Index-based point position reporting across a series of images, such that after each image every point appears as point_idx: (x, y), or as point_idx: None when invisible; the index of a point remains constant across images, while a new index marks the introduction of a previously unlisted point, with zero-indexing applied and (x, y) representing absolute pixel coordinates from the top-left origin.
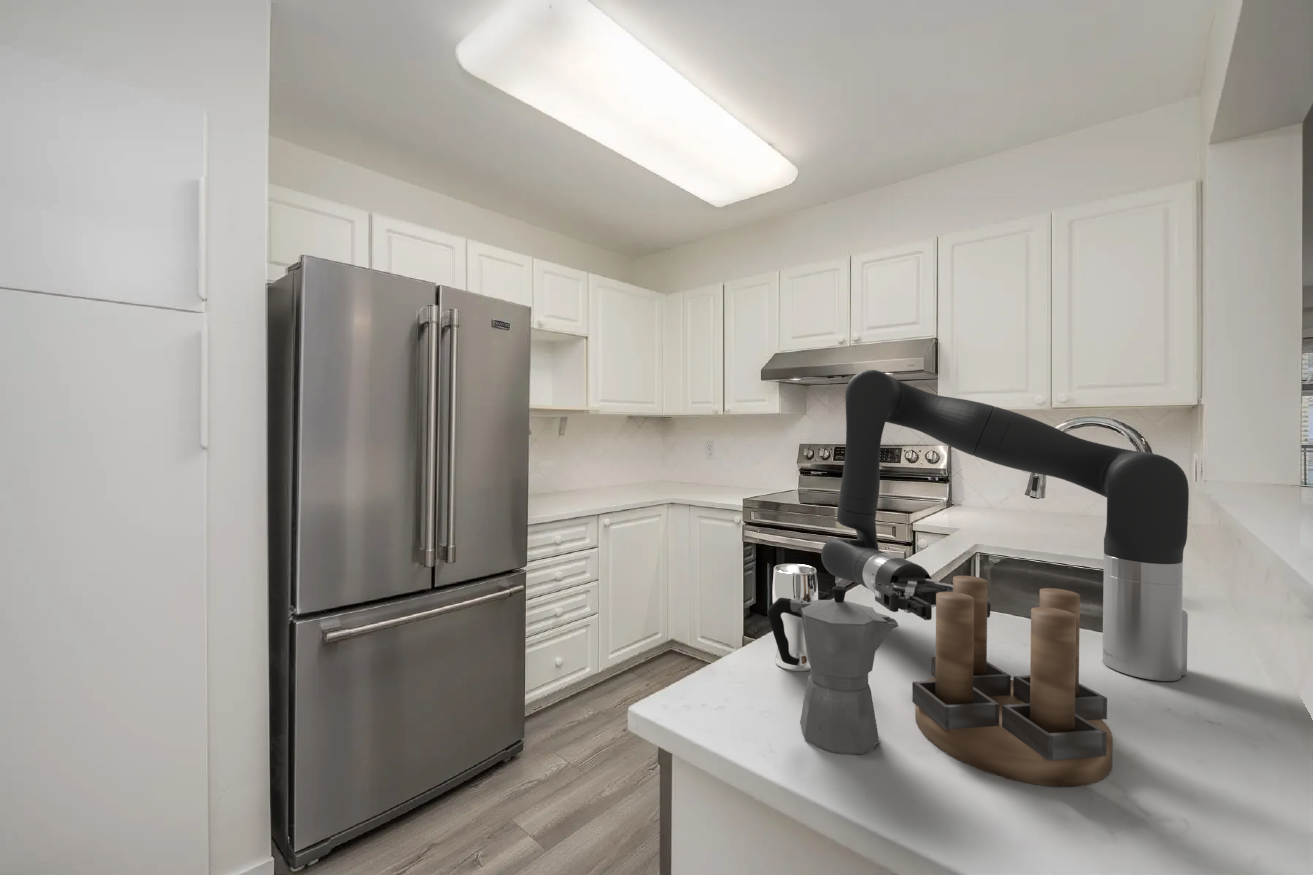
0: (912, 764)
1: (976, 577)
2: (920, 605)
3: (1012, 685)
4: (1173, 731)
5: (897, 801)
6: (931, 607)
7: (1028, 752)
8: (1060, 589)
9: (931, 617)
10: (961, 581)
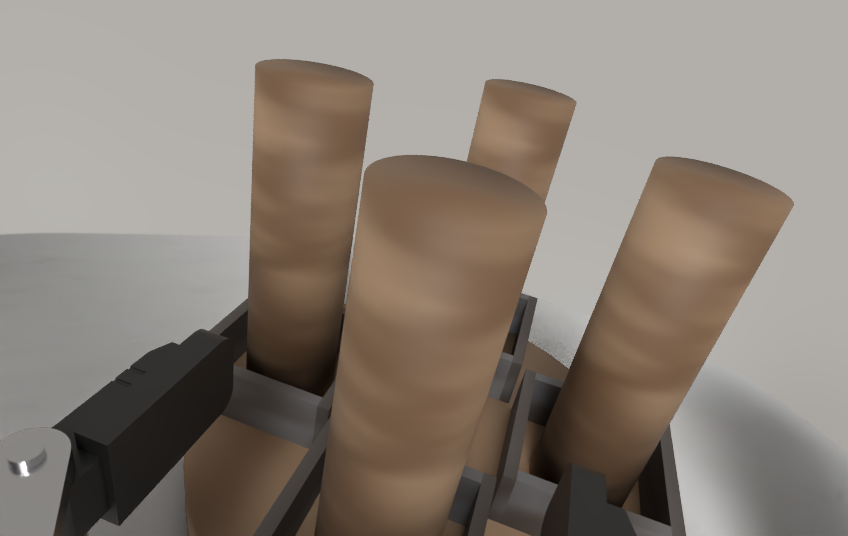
0: (712, 512)
1: (376, 181)
2: (613, 526)
3: (242, 486)
4: (77, 320)
5: (784, 463)
6: (566, 467)
7: (537, 352)
8: (263, 69)
9: (547, 508)
10: (539, 199)
